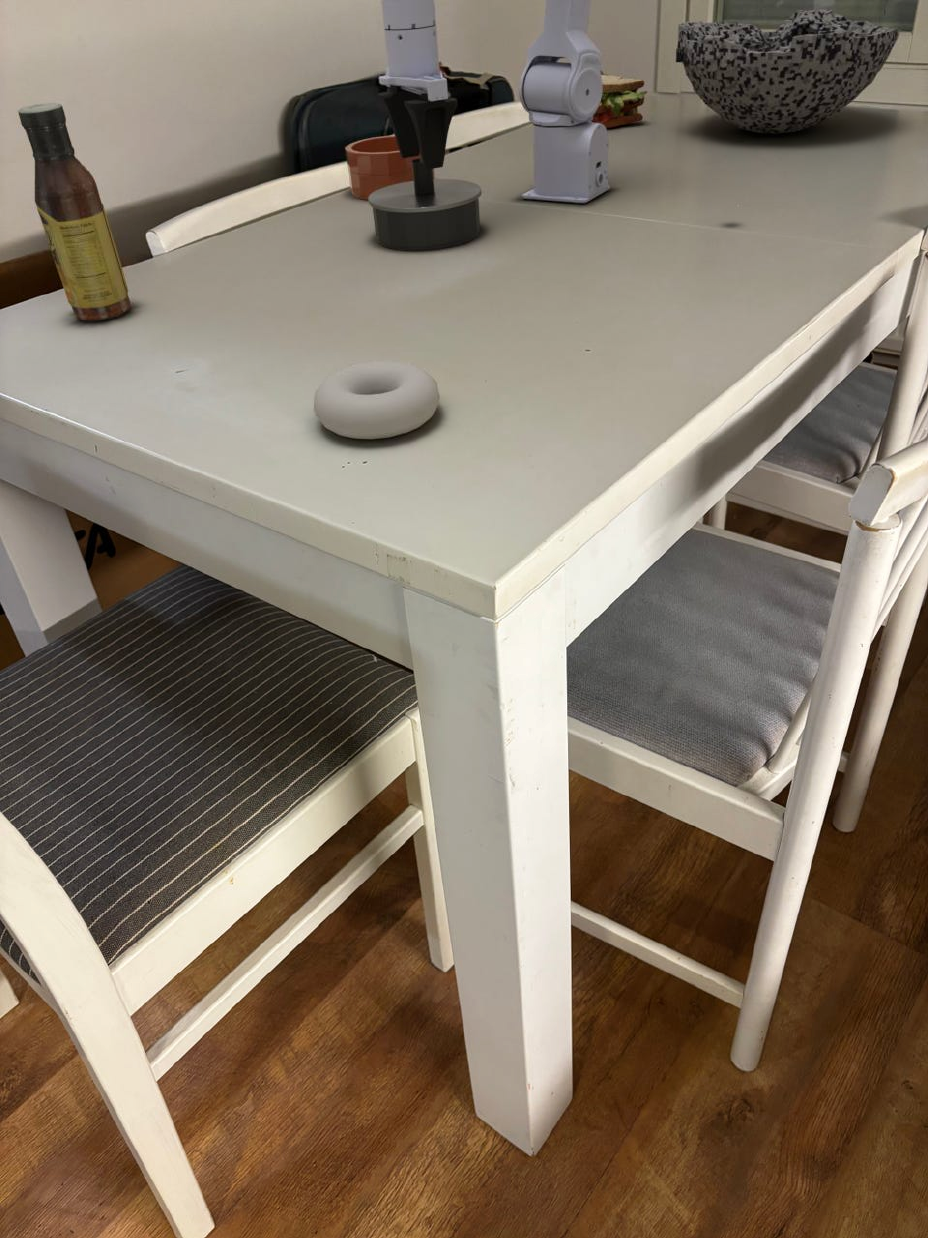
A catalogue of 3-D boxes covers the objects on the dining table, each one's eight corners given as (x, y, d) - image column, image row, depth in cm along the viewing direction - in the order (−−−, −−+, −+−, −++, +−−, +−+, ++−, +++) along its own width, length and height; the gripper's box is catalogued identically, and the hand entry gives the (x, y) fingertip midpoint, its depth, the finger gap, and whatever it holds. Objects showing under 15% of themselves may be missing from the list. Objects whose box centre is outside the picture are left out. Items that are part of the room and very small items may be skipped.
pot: (450, 182, 138) (447, 136, 135) (403, 203, 130) (398, 155, 127) (383, 177, 144) (378, 133, 140) (334, 197, 136) (328, 151, 132)
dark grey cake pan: (498, 225, 118) (496, 187, 116) (443, 254, 110) (440, 214, 107) (414, 217, 124) (411, 181, 121) (357, 244, 116) (351, 206, 113)
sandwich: (531, 127, 165) (530, 74, 160) (579, 114, 171) (579, 63, 167) (604, 136, 155) (605, 80, 150) (651, 122, 161) (654, 68, 157)
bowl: (779, 162, 134) (794, 38, 125) (634, 134, 156) (637, 27, 147) (925, 125, 146) (949, 10, 137) (771, 104, 168) (783, 3, 159)
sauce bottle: (85, 304, 104) (22, 101, 92) (141, 301, 104) (84, 96, 92) (63, 326, 99) (-6, 113, 87) (122, 323, 99) (60, 109, 87)
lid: (502, 192, 116) (500, 150, 113) (442, 222, 107) (438, 177, 104) (410, 185, 122) (407, 144, 119) (346, 212, 113) (341, 170, 110)
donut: (351, 389, 81) (294, 439, 74) (345, 350, 79) (286, 397, 72) (459, 399, 78) (411, 453, 71) (457, 359, 76) (406, 409, 69)
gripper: (355, 26, 108) (370, 156, 116) (398, 35, 97) (411, 178, 105) (412, 19, 110) (423, 148, 118) (461, 27, 99) (470, 168, 107)
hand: (421, 161), depth 112 cm, fingers open, 7 cm apart
